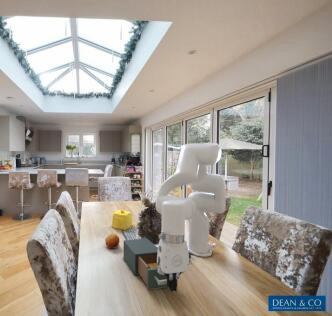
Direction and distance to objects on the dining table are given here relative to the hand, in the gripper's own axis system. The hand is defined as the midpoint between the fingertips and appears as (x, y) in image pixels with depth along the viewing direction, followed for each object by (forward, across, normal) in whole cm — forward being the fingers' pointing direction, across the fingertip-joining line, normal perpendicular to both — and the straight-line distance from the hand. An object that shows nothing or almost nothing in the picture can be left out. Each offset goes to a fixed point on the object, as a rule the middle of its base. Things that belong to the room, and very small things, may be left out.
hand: (171, 288), depth 72 cm
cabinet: (+5, 0, +25) cm, 25 cm away
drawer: (+4, 0, +11) cm, 12 cm away
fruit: (+5, -8, +46) cm, 47 cm away
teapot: (+5, +8, +76) cm, 77 cm away
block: (+3, 0, +13) cm, 13 cm away
